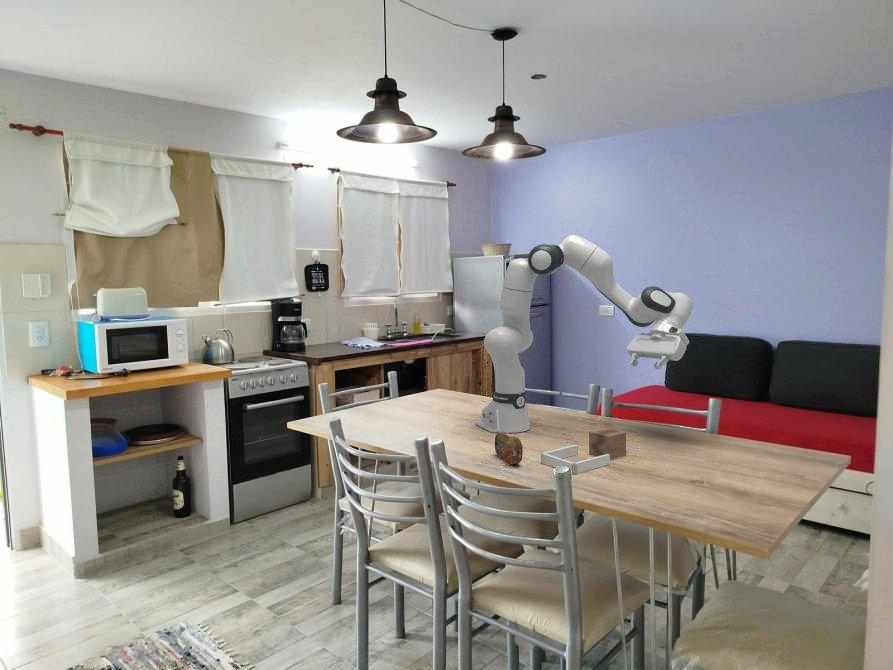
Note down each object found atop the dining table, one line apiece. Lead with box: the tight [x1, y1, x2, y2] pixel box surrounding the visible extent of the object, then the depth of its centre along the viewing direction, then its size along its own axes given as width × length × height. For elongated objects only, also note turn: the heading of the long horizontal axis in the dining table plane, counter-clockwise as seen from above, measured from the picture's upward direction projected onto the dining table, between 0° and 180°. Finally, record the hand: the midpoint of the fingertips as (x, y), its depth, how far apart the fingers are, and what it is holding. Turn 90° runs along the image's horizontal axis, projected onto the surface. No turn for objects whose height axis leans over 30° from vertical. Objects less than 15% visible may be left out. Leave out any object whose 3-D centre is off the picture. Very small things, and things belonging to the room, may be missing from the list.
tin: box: [494, 432, 524, 465], centre depth 186 cm, size 15×3×8 cm, turn 21°
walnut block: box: [588, 427, 627, 461], centre depth 190 cm, size 8×8×8 cm
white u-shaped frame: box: [540, 444, 611, 475], centre depth 182 cm, size 14×15×3 cm
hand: (644, 366), depth 197 cm, fingers open, 8 cm apart
